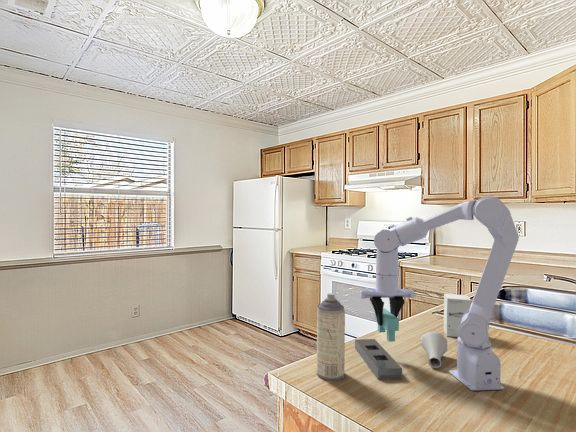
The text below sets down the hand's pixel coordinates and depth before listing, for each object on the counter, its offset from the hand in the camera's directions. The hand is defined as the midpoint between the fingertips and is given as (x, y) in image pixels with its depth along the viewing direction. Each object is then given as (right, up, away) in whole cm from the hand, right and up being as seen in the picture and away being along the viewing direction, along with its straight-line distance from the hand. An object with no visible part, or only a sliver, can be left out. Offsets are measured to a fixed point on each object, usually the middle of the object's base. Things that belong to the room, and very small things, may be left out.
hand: (386, 324), depth 97 cm
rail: (-3, -10, 0) cm, 10 cm away
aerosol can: (-16, -10, -8) cm, 21 cm away
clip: (0, -3, 0) cm, 3 cm away
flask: (+15, -7, +5) cm, 17 cm away
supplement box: (+29, -10, +22) cm, 38 cm away
